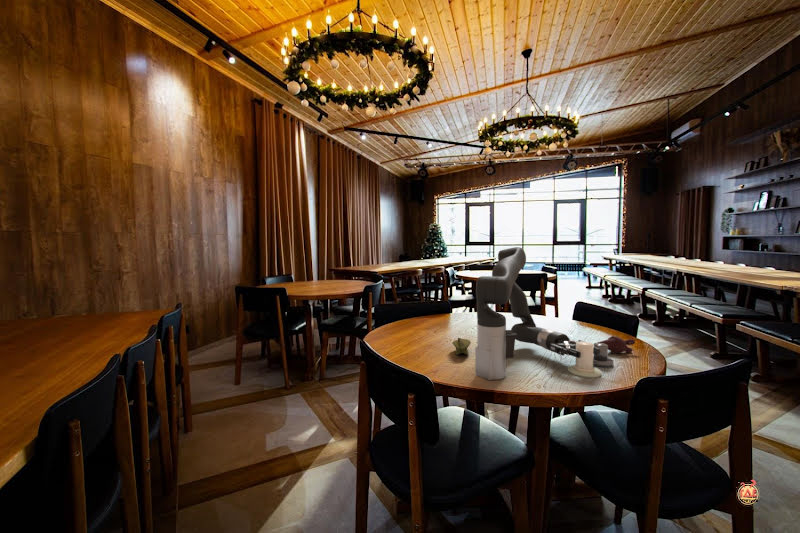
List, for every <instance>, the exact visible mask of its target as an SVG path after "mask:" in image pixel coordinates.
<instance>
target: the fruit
mask: <svg viewBox="0 0 800 533" xmlns="http://www.w3.org/2000/svg"><path fill="white" fill-rule="evenodd" d="M471 343H472V342H471V340H470V339H465V338H461V337H458V338H457V339H455V340H454V341H452V345H453V347H454V348H455V353H456V354H455V355H456V356H457V355H461V354H464V355H467V356H470V355H469V351H468V350H469V349H468V348H469V347H470V345H471Z"/></svg>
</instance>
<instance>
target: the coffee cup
mask: <svg viewBox="0 0 800 533" xmlns="http://www.w3.org/2000/svg"><path fill="white" fill-rule="evenodd" d="M516 335H517V334H516V332H513V331H511V329H506V359H512V358H514V352H515V346H516V345H515V344H516V339H515V338H516Z"/></svg>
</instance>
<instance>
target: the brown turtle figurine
mask: <svg viewBox="0 0 800 533" xmlns="http://www.w3.org/2000/svg"><path fill="white" fill-rule="evenodd" d="M596 343H604V344H607V345H608V350H609V351H610V353H612V354H614V355H616V354H621V353H623V352H625V353H628V352H630V353H632V352H633V349H632V348H631V347H629V346H632V345H634V344H635V343H636V341H635V340H634V339H633V338H628V339H626V340H624V339H622V337H619V336H614V335H612V336H610V337H608V338H607V339H605V340H602V341H597V342H596Z"/></svg>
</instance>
